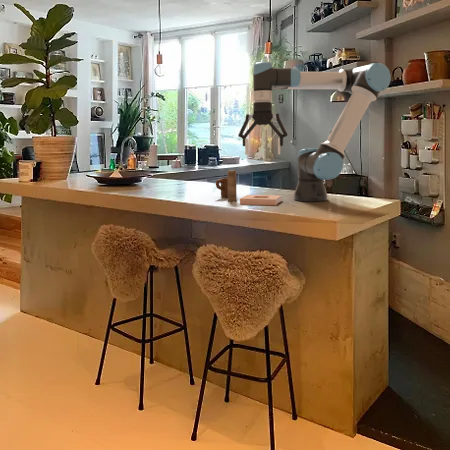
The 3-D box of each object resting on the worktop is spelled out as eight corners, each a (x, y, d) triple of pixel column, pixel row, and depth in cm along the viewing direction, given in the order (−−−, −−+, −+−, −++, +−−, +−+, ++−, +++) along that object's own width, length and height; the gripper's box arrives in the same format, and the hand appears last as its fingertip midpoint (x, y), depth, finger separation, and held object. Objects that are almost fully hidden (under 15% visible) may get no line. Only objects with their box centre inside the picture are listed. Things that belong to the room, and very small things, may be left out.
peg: (229, 200, 243) (228, 170, 241) (237, 200, 242) (237, 170, 240) (226, 201, 240) (226, 170, 237) (235, 202, 239) (234, 170, 236)
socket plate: (247, 200, 244) (247, 194, 244) (281, 201, 240) (281, 195, 239) (239, 204, 231) (239, 198, 230) (275, 205, 226) (275, 199, 226)
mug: (222, 199, 248) (221, 179, 247) (211, 198, 254) (210, 178, 252) (239, 196, 257) (239, 177, 255) (228, 195, 262) (228, 176, 260)
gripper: (230, 102, 215) (231, 154, 218) (292, 100, 209) (292, 154, 213) (234, 103, 222) (235, 154, 226) (294, 101, 217) (293, 153, 220)
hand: (262, 154), depth 219 cm, fingers open, 13 cm apart
